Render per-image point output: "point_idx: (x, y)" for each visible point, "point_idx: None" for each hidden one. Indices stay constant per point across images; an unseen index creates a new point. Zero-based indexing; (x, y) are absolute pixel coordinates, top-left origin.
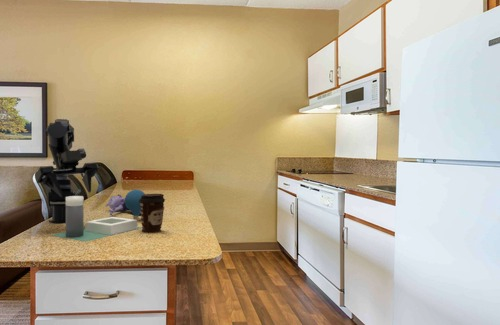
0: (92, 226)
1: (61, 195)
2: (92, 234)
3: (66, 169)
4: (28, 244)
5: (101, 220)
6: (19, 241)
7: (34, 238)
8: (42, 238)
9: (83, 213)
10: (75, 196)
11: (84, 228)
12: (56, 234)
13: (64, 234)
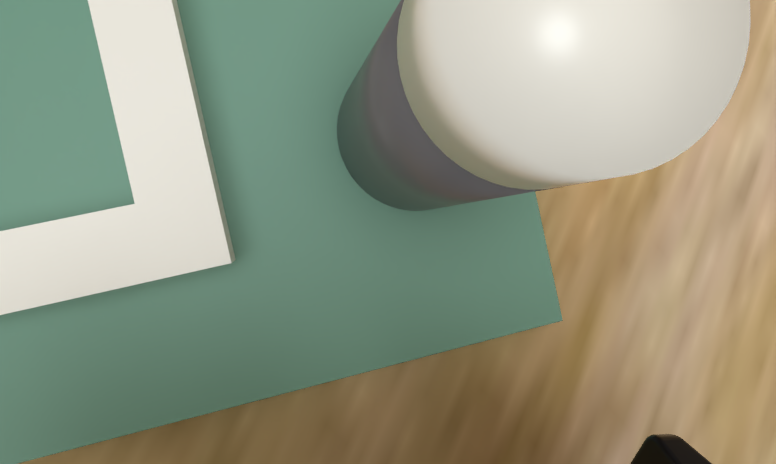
0: (206, 147)
1: (662, 441)
2: (268, 56)
3: None
4: (737, 228)
5: (17, 229)
6: (745, 385)
7: (628, 415)
8: (584, 367)
9: (384, 28)
10: (559, 50)
11: (169, 400)
12: (505, 309)
13: (454, 256)
